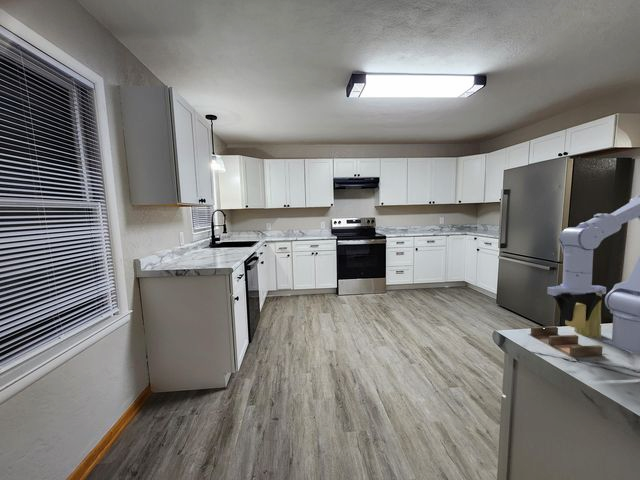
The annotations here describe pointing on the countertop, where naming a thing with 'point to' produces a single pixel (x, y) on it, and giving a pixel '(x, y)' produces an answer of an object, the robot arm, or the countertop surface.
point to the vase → (592, 323)
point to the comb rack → (565, 343)
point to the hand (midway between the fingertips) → (575, 319)
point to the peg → (578, 316)
